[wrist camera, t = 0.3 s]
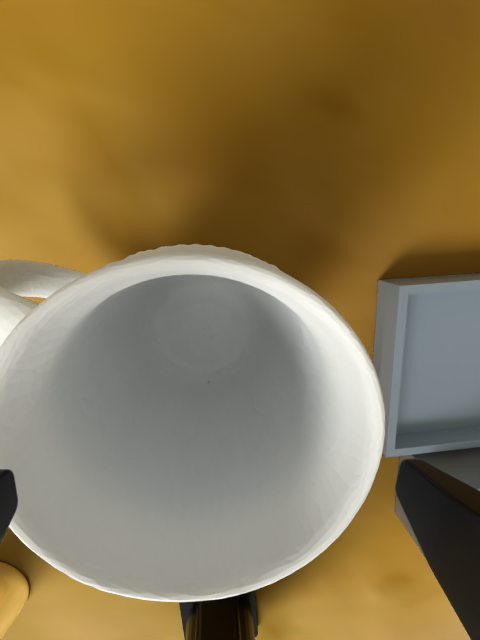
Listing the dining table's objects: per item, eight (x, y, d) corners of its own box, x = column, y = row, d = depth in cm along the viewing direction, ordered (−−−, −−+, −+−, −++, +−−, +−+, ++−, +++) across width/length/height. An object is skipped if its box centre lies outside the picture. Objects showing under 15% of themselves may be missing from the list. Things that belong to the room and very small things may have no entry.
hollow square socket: (469, 501, 27) (524, 558, 22) (394, 511, 27) (434, 571, 22) (481, 434, 25) (544, 480, 21) (400, 442, 25) (446, 492, 20)
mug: (35, 340, 20) (-254, 513, 8) (94, 175, 18) (-173, 40, 5) (241, 419, 23) (277, 639, 11) (313, 285, 21) (468, 362, 8)
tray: (514, 419, 25) (546, 439, 23) (368, 435, 24) (385, 457, 22) (545, 267, 22) (586, 271, 20) (378, 280, 21) (399, 285, 19)
